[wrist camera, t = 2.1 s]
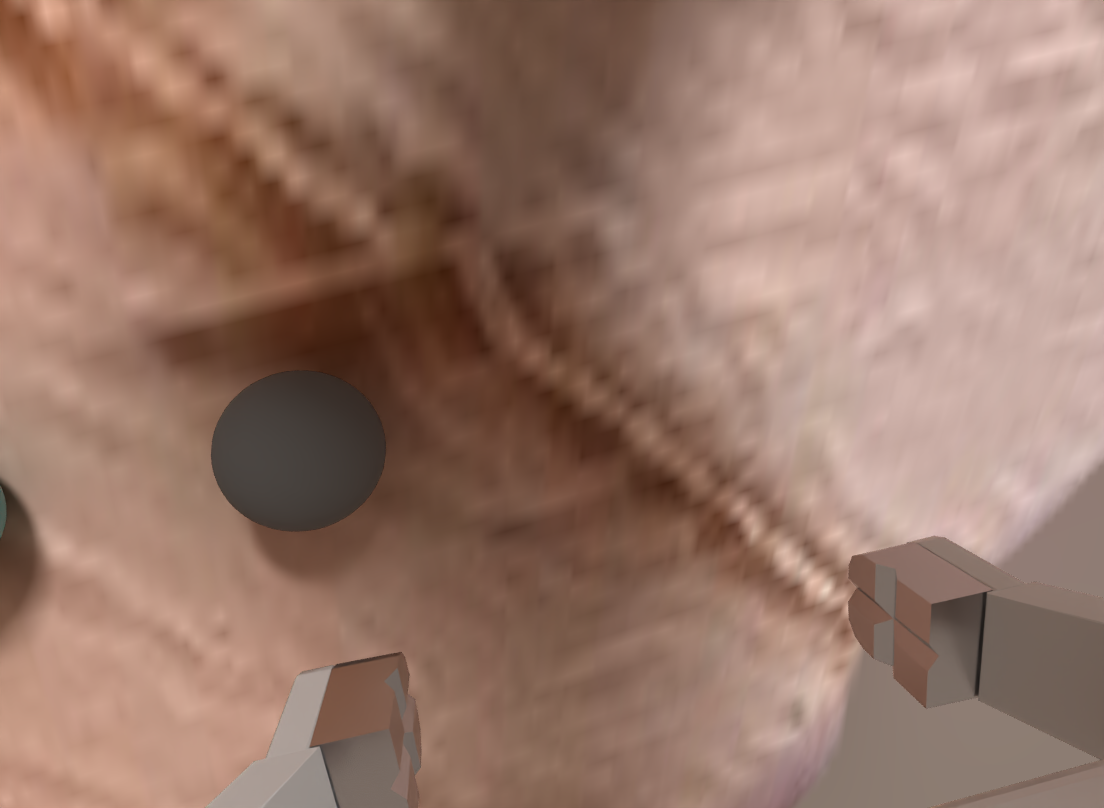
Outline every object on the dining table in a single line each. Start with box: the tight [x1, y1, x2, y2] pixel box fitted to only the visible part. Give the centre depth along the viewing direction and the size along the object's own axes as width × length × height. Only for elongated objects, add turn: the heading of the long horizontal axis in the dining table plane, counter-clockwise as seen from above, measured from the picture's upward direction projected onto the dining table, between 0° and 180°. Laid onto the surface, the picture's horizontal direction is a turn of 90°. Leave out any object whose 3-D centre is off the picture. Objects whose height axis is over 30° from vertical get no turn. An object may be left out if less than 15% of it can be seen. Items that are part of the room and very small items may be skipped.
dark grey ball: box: [211, 370, 386, 531], centre depth 22 cm, size 6×6×6 cm
